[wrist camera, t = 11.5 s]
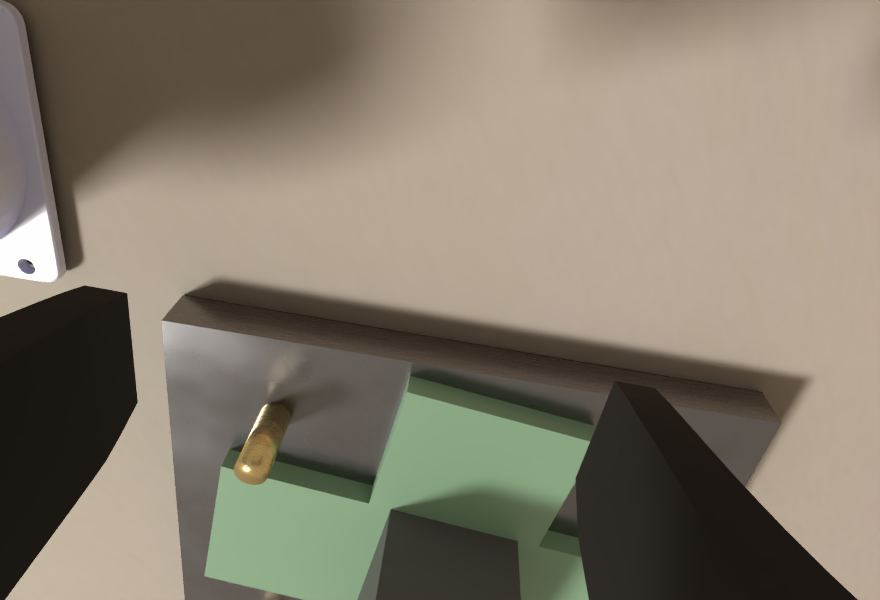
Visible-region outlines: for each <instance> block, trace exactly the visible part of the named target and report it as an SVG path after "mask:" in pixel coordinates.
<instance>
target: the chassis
mask: <svg viewBox="0 0 880 600" xmlns="http://www.w3.org/2000/svg"><path fill="white" fill-rule="evenodd" d="M162 331H163V343H164V355H165V367H166V379H167V391H168V403H169V415H170V426H171V438H172V450H173V462H174V474H175V486H176V498H177V510H178V522H179V534H180V546H181V558H182V570H183V582H184V594H185V600H303V599H299V598H294V597H290V596H286V595H282V594H277V593H273V592H269V591H265V590H260V589H256V588H252V587H248V586H243V585H239V584H235V583H231V582H226V581H222V580H218V579H214V578H209V577H205V576H204V575H205V569H206V562H207V556H208V549H209V542H210V536H211V529H212V523H213V516H214V510H215V503H216V497H217V490H218V483H219V477H220V470H221V466H222V464H223V462H224V460H225V458H226V456H227V454H228V452H229V450H230V449H231V450H235V451H239V452H241V453H240V455H239V458H238V460H237V462H236V464H235V466H234V474H235V476H236V477H237V478H238V479H239V480H240V481H242V482H244V483H246V484H250V485H259V484H262V483H264V482H265V481H266V480H267V478H268V475H269V473H270V470H271V468H272V465H273V463H274V461H278V462H282V463H286V464H290V465H294V466H298V467H302V468H306V469H310V470H314V471H318V472H322V473H326V474H329V475H333V476H337V477H341V478H345V479H349V480H353V481H357V482H361V483H365V484H369V485H373V483H374V480H375V477H376V474H377V471H378V469H379V466H380V463H381V460H382V457H383V454H384V451H385V448H386V445H387V442H388V439H389V436H390V433H391V430H392V427H393V424H394V421H395V418H396V415H397V412H398V409H399V406H400V403H401V400H402V397H403V394H404V391H405V388H406V385H407V382H408V379H409V376H413V377H417V378H421V379H424V380H428V381H432V382H435V383H439V384H443V385H446V386H450V387H454V388H457V389H461V390H465V391H468V392H472V393H476V394H479V395H483V396H487V397H490V398H494V399H498V400H501V401H505V402H509V403H512V404H516V405H520V406H523V407H527V408H531V409H534V410H538V411H542V412H545V413H549V414H553V415H557V416H560V417H564V418H568V419H571V420H575V421H579V422H582V423H586V424H590V425H593V426H594V429H596V426H597V424H598V421H599V419H600V416H601V414H602V411H603V409H604V406H605V404H606V401H607V399H608V396H609V394H610V391H611V389H612V386H613V384H614V381H618V382H624V383H630V384H635V385H641V386H646V387H652V388H655V389H656V390H657V391H658V392H659V393H660V394H661V395H662V396H663V397H664V398H665V399H666V400H667V401H668V402H669V403H670V404H671V405H672V406H673V407H674V408H675V410H676V411H677V412H678V413H679V414H680V415H681V416H682V417H683V418H684V420H685V421H686V422H687V423H688V424H689V425H690V426H691V427H692V429H693V430H694V431H695V432H696V433H697V434H698V435H699V436H700V438H701V439H702V440H703V441H704V442H705V443H706V444H707V445H708V447H709V448H710V449H711V450H712V451H713V452H714V453H715V454H716V456H717V457H718V458H719V459H720V460H721V461H722V462H723V463H724V464H725V466H726V467H727V468H728V469H729V470H730V471H731V472H732V473H733V474H734V476H735V477H736V478H737V479H738V480H739V481H740V482H741V483H742V484H743V485H744V486H745V485H746V483H747V481H748V480H749V478H750V476H751V474H752V473H753V471H754V469H755V467H756V466H757V464H758V462H759V461H760V459H761V457H762V455H763V454H764V452H765V450H766V449H767V447H768V445H769V443H770V442H771V440H772V438H773V436H774V435H775V433H776V431H777V430H778V428H779V426H780V424H781V423H780V421H779V419H778V418H777V416H776V414H775V413H774V411H773V410H772V408H771V406H770V405H769V403H768V401H767V400H766V398H765V396H764V395H763V393H762V392H756V391H750V390H744V389H738V388H732V387H726V386H720V385H714V384H708V383H702V382H696V381H690V380H684V379H678V378H672V377H666V376H660V375H654V374H648V373H642V372H636V371H630V370H624V369H619V368H613V367H607V366H601V365H595V364H589V363H583V362H577V361H571V360H565V359H559V358H553V357H547V356H541V355H535V354H529V353H523V352H517V351H511V350H505V349H499V348H493V347H487V346H481V345H475V344H469V343H463V342H457V341H451V340H445V339H439V338H433V337H427V336H422V335H416V334H410V333H404V332H398V331H392V330H386V329H380V328H374V327H368V326H362V325H356V324H350V323H344V322H338V321H332V320H326V319H320V318H314V317H308V316H302V315H296V314H290V313H284V312H278V311H272V310H266V309H260V308H254V307H248V306H242V305H236V304H231V303H225V302H219V301H213V300H207V299H201V298H195V297H189V296H182V297H181V298H180V299H179V300H178V302H177V303H176V304H175V305H174V306H173V308H172V309H171V310H170V311H169V312H168V314H167V315H166V316H165V317H164V318H163V319H162ZM548 530H549V531H553V532H557V533H561V534H565V535H569V536H573V537H577V538H578V523H577V504H576V482H575V484H574V485H573V487H572V489H571V491H570V492H569V494H568V496H567V498H566V499H565V501H564V503H563V505H562V506H561V508H560V510H559V511H558V513H557V515H556V517H555V518H554V520H553V522H552V524H551V525H550V527H549V529H548Z"/></svg>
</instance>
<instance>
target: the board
mask: <svg viewBox="0 0 880 600" xmlns="http://www.w3.org/2000/svg"><path fill="white" fill-rule="evenodd" d="M594 431H595V429H594V426H593V425H590V424H586V423H582V422H579V421H575V420H571V419H568V418H564V417H560V416H557V415H553V414H549V413H545V412H542V411H538V410H534V409H531V408H527V407H523V406H520V405H516V404H512V403H509V402H505V401H501V400H498V399H494V398H490V397H487V396H483V395H479V394H476V393H472V392H468V391H465V390H461V389H457V388H454V387H450V386H446V385H443V384H439V383H435V382H432V381H428V380H424V379H421V378H417V377H413V376H409V379H408V382H407V385H406V388H405V391H404V394H403V397H402V400H401V403H400V406H399V409H398V412H397V415H396V418H395V421H394V424H393V427H392V430H391V433H390V436H389V439H388V442H387V445H386V448H385V451H384V454H383V457H382V460H381V463H380V466H379V469H378V471H377V474H376V477H375V480H374V483H373V485H369V484H365V483H361V482H357V481H353V480H349V479H345V478H341V477H337V476H333V475H329V474H326V473H322V472H318V471H314V470H310V469H306V468H302V467H298V466H294V465H290V464H286V463H282V462H278V461H274V463H273V465H272V468H271V470H270V473H269V475H268V478H267V480H266V481H265V482H264V483H262V484H259V485H250V484H246V483H244V482H242V481H240V480H239V479H238V478H237V477H236V476H235V474H234V466H235V464H236V462H237V460H238V458H239V455H240V453H241V452H239V451H235V450H231V449H230V450H229V452H228V454H227V456H226V458H225V460H224V462H223V464H222V466H221V470H220V477H219V483H218V490H217V497H216V503H215V510H214V516H213V523H212V529H211V536H210V542H209V549H208V556H207V562H206V569H205V575H204V576H205V577H209V578H214V579H218V580H222V581H226V582H231V583H235V584H239V585H243V586H248V587H252V588H256V589H260V590H265V591H269V592H273V593H277V594H282V595H286V596H290V597H294V598H299V599H303V600H589V598H588V592H587V587H586V581H585V575H584V570H583V564H582V558H581V552H580V546H579V538H577V537H573V536H569V535H565V534H561V533H557V532H553V531H549V530H548V529H549V527H550V525H551V524H552V522H553V520H554V518H555V517H556V515H557V513H558V511H559V510H560V508H561V506H562V505H563V503H564V501H565V499H566V498H567V496H568V494H569V492H570V491H571V489H572V487H573V485H574V484H575V482H576V480H575V478H576V476H577V473H578V471H579V468H580V466H581V463H582V461H583V458H584V456H585V453H586V451H587V448H588V446H589V443H590V441H591V438H592V436H593V434H594Z"/></svg>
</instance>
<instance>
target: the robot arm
mask: <svg viewBox="0 0 880 600" xmlns="http://www.w3.org/2000/svg"><path fill="white" fill-rule="evenodd" d="M26 259H27V260H29V261H31V262H32V263H33V264H34V266H35V268H34V267H31V266H30V265H29V264H28V263H27V260H26ZM65 272H66V264H65V258H64V252H63V246H62V240H61V234H60V228H59V223H58V217H57V211H56V205H55V199H54V193H53V187H52V181H51V175H50V169H49V163H48V157H47V151H46V145H45V139H44V133H43V127H42V122H41V116H40V110H39V104H38V98H37V92H36V86H35V80H34V74H33V68H32V62H31V56H30V50H29V44H28V38H27V32H26V26H25V23H24V20H23V17H22V15H21V14H20V13H19V11H18V10H17V9H16V8H15V7H14V6H13V5H12V4H10V3H8V2H6V1H3V0H0V275H3V276H9V277H15V278H21V279H27V280H33V281H39V282H45V283H53V282H55V281H57V280H59V279H60V278H61V277H62V276H63V275H64V274H65ZM136 404H137V391H136V381H135V370H134V360H133V350H132V339H131V329H130V319H129V308H128V298H127V293H123V292H118V291H112V290H107V289H101V288H95V287H90V286H82V287H79V288H76V289H73V290H69V291H67V292H64V293H61V294H58V295H55V296H53V297H50V298H48V299H45V300H42V301H40V302H37V303H35V304H32V305H30V306H27V307H25V308H22V309H20V310H17V311H15V312H12V313H10V314H7V315H5V316H3V317H0V600H5V599H6V597H7V596H8V595H9V593H10V592H11V591H12V589H13V588H14V587H15V585H16V584H17V582H18V581H19V580H20V578H21V577H22V576H23V574H24V573H25V572H26V570H27V569H28V568H29V566H30V565H31V563H32V562H33V561H34V559H35V558H36V557H37V555H38V554H39V553H40V551H41V550H42V548H43V547H44V546H45V544H46V543H47V542H48V540H49V539H50V538H51V536H52V535H53V534H54V532H55V531H56V529H57V528H58V527H59V525H60V524H61V523H62V521H63V520H64V519H65V517H66V516H67V514H68V513H69V512H70V510H71V509H72V508H73V506H74V505H75V504H76V502H77V501H78V499H79V498H80V497H81V495H82V494H83V492H84V491H85V490H86V488H87V487H88V486H89V484H90V483H91V481H92V480H93V479H94V477H95V476H96V474H97V473H98V472H99V470H100V469H101V467H102V466H103V464H104V463H105V462H106V460H107V458H108V456H109V454H110V453H111V451H112V449H113V447H114V446H115V444H116V442H117V440H118V439H119V437H120V435H121V433H122V431H123V429H124V427H125V425H126V424H127V422H128V420H129V418H130V416H131V414H132V412H133V410H134V408H135V406H136ZM575 480H576V504H577V523H578V538H579V546H580V552H581V558H582V564H583V570H584V575H585V581H586V587H587V592H588V598H589V600H857V599H856V598H855V597H854V596H853V595H852V594H851V593H850V592H849V591H848V590H847V589H846V588H844V587H843V586H842V585H841V584H840V583H839V582H838V581H837V580H836V579H835V578H834V577H833V576H832V575H831V574H830V573H829V572H827V571H826V570H825V569H824V568H823V567H822V566H821V565H820V564H819V563H818V562H817V561H816V560H815V559H814V558H813V557H812V556H811V555H810V554H809V553H808V552H807V551H806V550H805V549H804V548H803V547H802V546H801V545H800V544H799V543H798V542H797V541H796V540H795V539H794V538H793V537H792V536H791V535H790V534H789V533H788V532H787V531H786V530H785V529H784V528H783V527H782V526H781V525H780V524H779V523H778V522H777V520H776V519H775V518H774V517H773V516H772V515H771V514H770V513H769V512H768V511H767V510H766V509H765V508H764V507H763V506H762V505H761V504H760V503H759V502H758V501H757V499H756V498H755V497H754V496H753V495H752V494H751V493H750V492H749V491H748V490H747V489H746V488H745V487H744V485H743V484H742V483H741V482H740V481H739V480H738V479H737V478H736V477H735V476H734V474H733V473H732V472H731V471H730V470H729V469H728V468H727V467H726V466H725V464H724V463H723V462H722V461H721V460H720V459H719V458H718V457H717V456H716V454H715V453H714V452H713V451H712V450H711V449H710V448H709V447H708V445H707V444H706V443H705V442H704V441H703V440H702V439H701V438H700V436H699V435H698V434H697V433H696V432H695V431H694V430H693V429H692V427H691V426H690V425H689V424H688V423H687V422H686V421H685V420H684V418H683V417H682V416H681V415H680V414H679V413H678V412H677V411H676V410H675V408H674V407H673V406H672V405H671V404H670V403H669V402H668V401H667V400H666V399H665V398H664V397H663V396H662V395H661V394H660V393H659V392H658V391H657V390H656V389H655V388H652V387H646V386H641V385H635V384H630V383H624V382H618V381H614V384H613V386H612V389H611V391H610V394H609V396H608V399H607V401H606V404H605V406H604V409H603V411H602V414H601V416H600V419H599V421H598V424H597V426H596V429H595V431H594V434H593V436H592V438H591V441H590V443H589V446H588V448H587V451H586V453H585V456H584V458H583V461H582V463H581V466H580V468H579V471H578V473H577V476H576V478H575Z"/></svg>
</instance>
